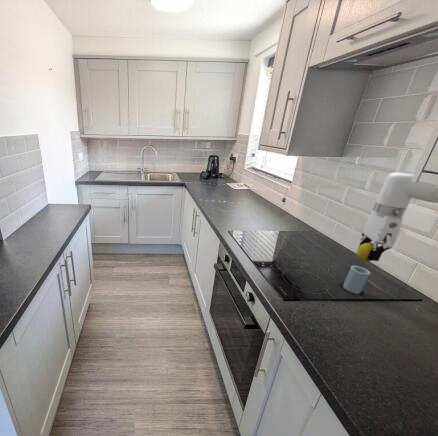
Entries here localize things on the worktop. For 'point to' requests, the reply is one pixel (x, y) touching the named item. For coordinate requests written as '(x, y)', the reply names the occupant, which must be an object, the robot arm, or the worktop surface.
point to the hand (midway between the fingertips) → (367, 255)
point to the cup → (356, 279)
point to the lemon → (364, 251)
